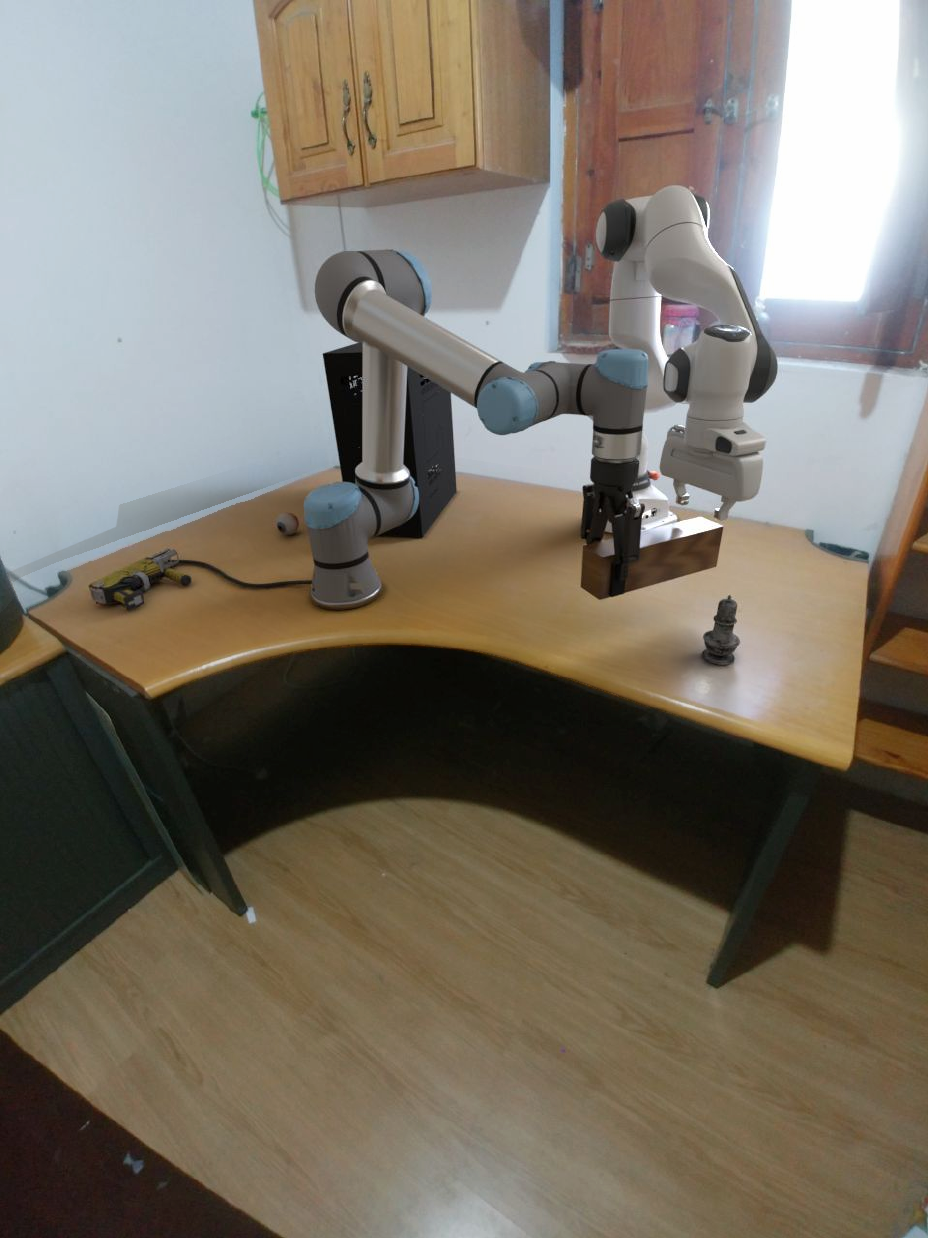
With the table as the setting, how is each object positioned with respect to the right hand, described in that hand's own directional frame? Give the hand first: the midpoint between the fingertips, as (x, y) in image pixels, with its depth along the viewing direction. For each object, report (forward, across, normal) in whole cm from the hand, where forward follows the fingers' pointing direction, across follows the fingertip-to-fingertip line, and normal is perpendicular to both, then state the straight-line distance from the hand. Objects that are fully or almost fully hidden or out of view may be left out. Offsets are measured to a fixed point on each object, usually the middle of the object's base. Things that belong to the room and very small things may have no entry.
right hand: (700, 511), depth 108 cm
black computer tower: (+20, -84, -28) cm, 91 cm away
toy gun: (+20, -68, -96) cm, 119 cm away
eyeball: (+20, -85, -62) cm, 107 cm away
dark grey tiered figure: (+21, +15, -6) cm, 26 cm away
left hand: (+10, 0, -20) cm, 22 cm away
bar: (+11, 0, -10) cm, 15 cm away
